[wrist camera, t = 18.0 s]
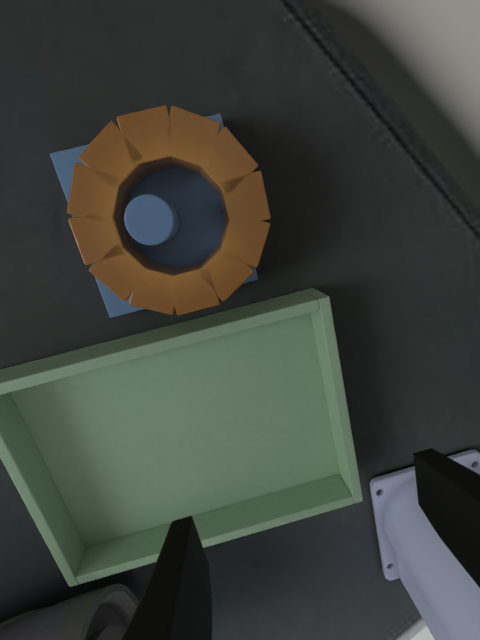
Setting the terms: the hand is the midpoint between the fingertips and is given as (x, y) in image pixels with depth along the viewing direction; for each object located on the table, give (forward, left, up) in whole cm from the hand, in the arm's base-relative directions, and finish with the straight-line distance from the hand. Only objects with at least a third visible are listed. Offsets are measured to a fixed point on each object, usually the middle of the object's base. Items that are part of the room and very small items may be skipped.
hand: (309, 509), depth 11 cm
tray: (-2, +5, -10) cm, 12 cm away
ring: (+10, +2, -9) cm, 14 cm away
